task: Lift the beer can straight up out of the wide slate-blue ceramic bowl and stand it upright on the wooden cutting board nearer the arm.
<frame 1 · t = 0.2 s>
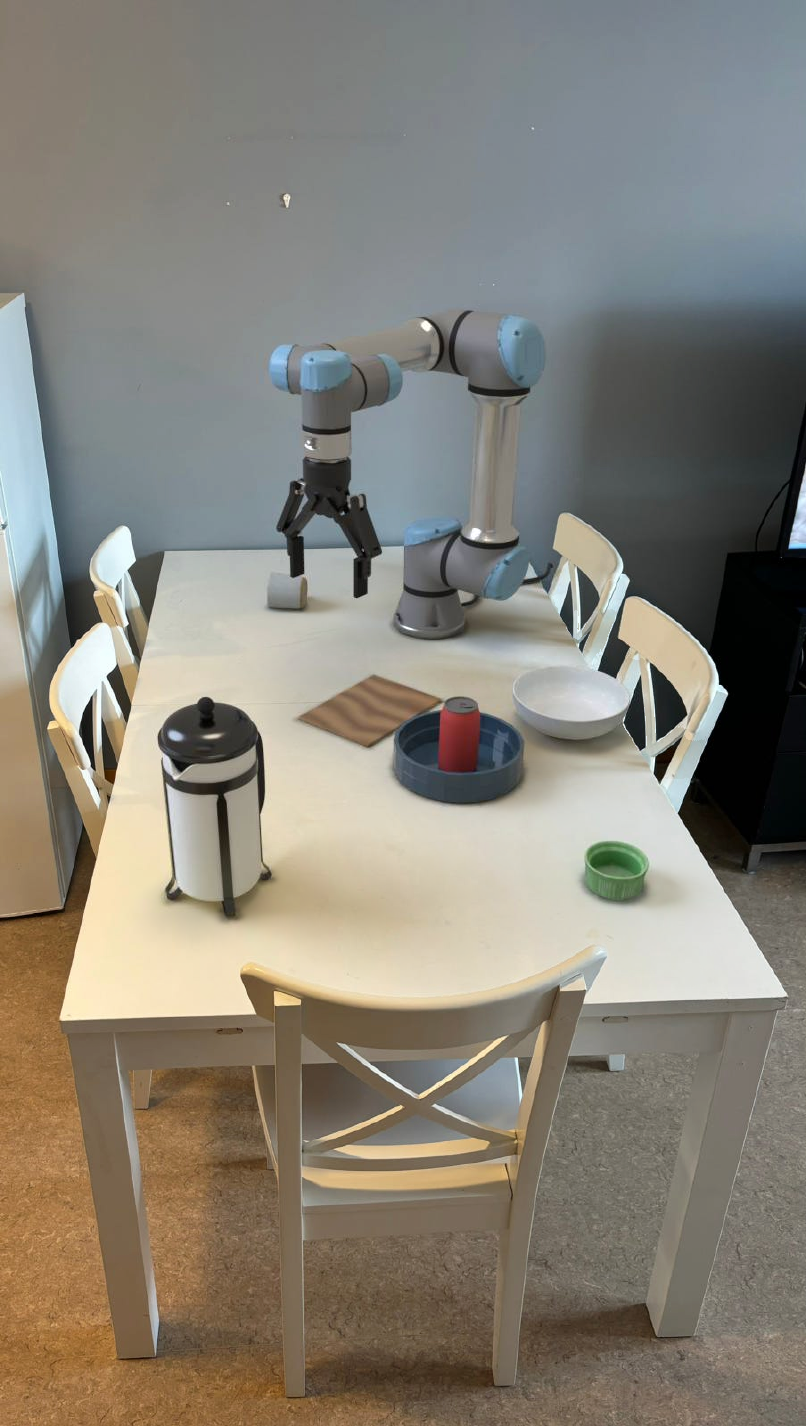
hand: (328, 585, 176), 28 cm above the table, tool pointing down, fingers open, 13 cm apart
serving bowl: (567, 725, 194), on the table
blue bowl: (457, 768, 180), on the table
coffee press: (222, 882, 152), on the table
beer can: (457, 768, 180), resting on blue bowl
ceramic mug: (287, 605, 240), on the table
wooden cutting board: (370, 710, 197), on the table
ramekin: (612, 884, 154), on the table
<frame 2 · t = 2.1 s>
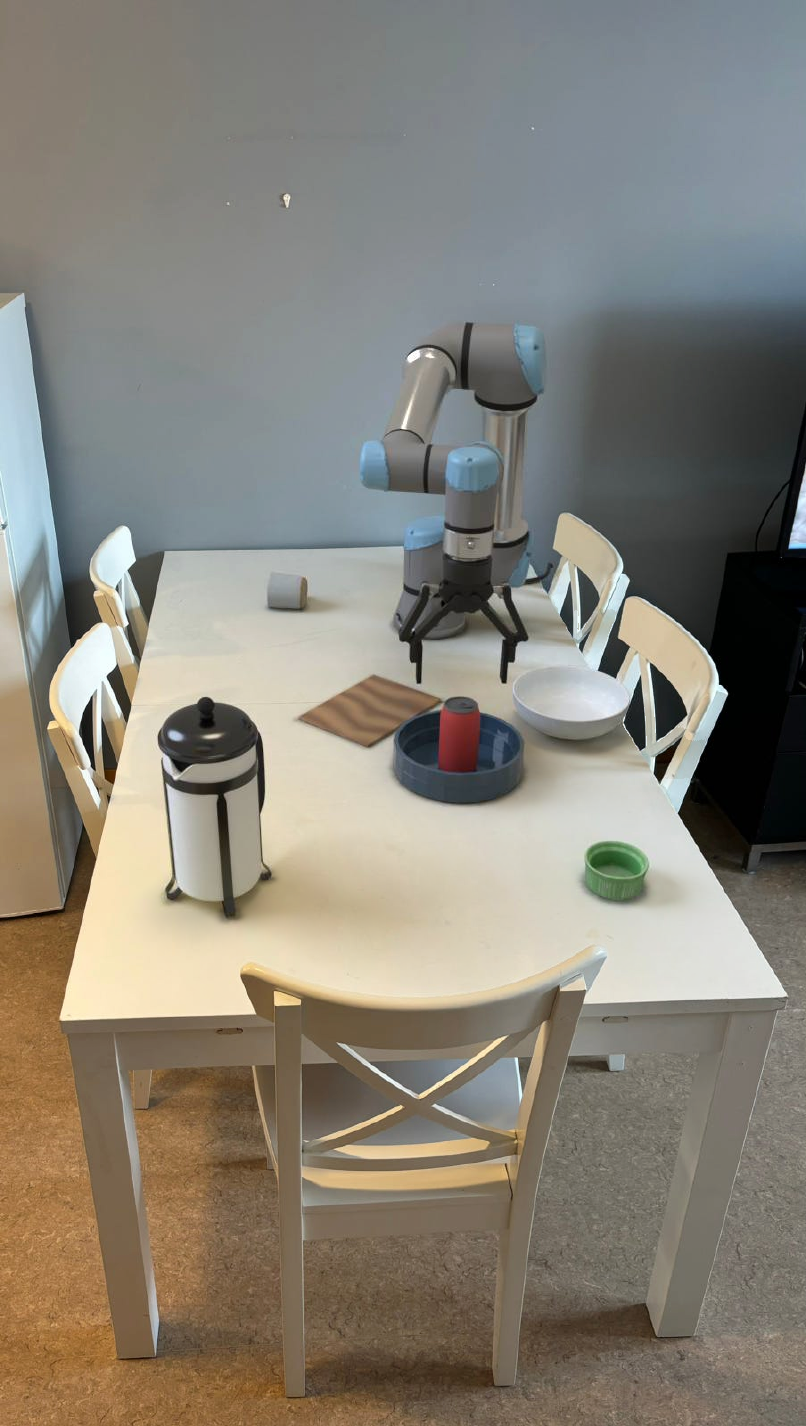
hand: (460, 680, 172), 17 cm above the table, tool pointing down, fingers open, 13 cm apart
nothing on the table moved.
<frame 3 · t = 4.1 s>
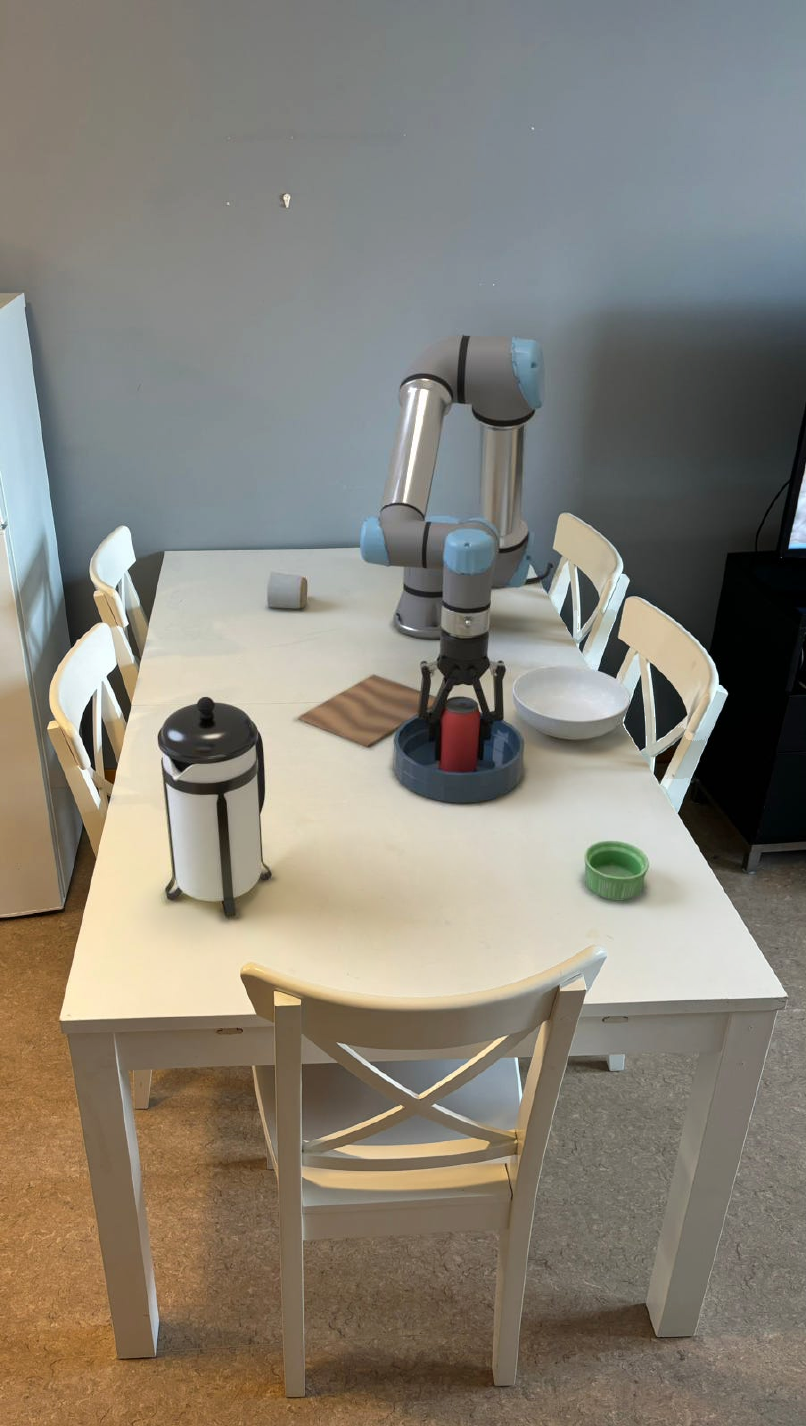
hand: (458, 756, 179), 2 cm above the table, tool pointing down, fingers closed on beer can, 7 cm apart
beer can: (457, 768, 180), resting on blue bowl, touching gripper
everything else where it was.
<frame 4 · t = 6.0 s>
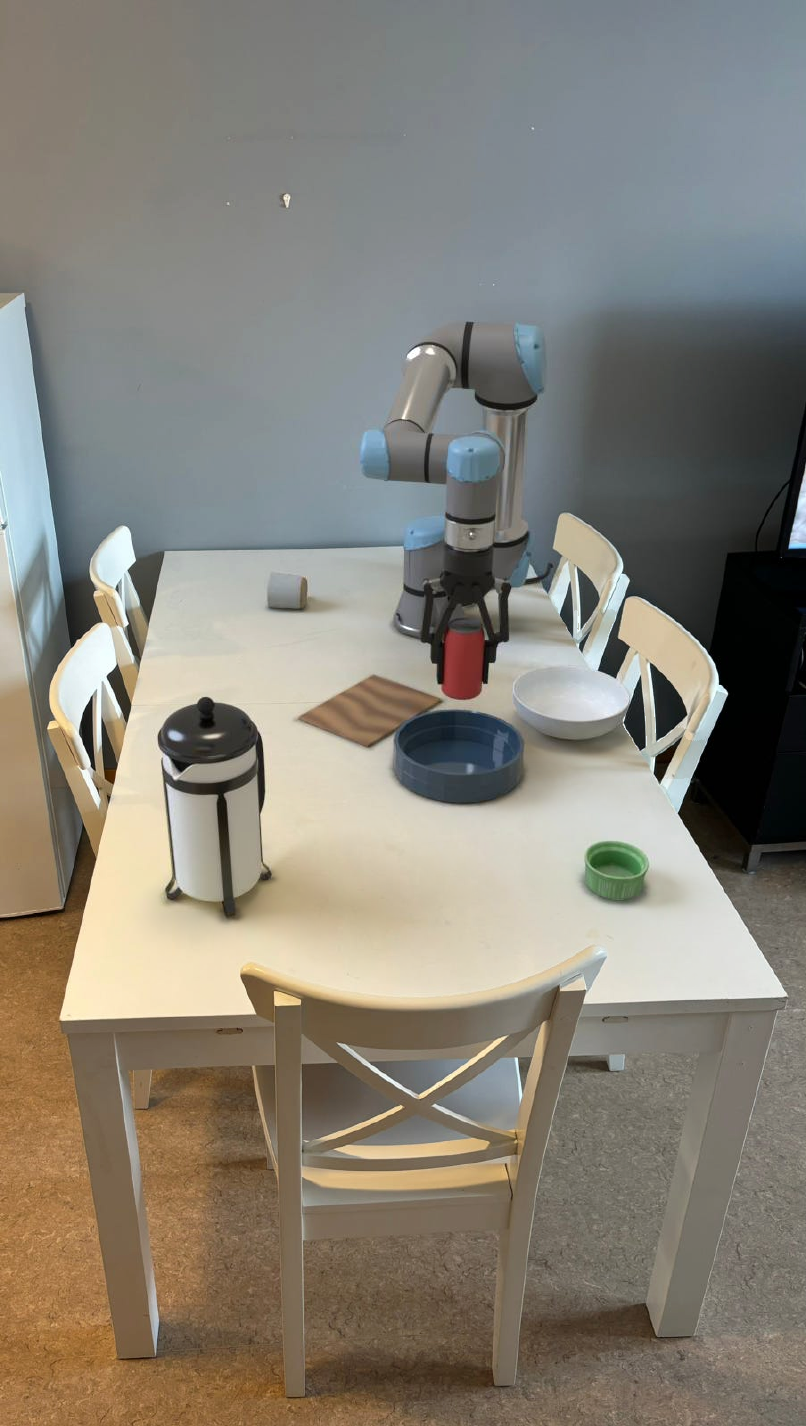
hand: (461, 680, 173), 16 cm above the table, tool pointing down, fingers closed on beer can, 6 cm apart
beer can: (461, 693, 174), point 14 cm above the table, touching gripper
everything else where it was.
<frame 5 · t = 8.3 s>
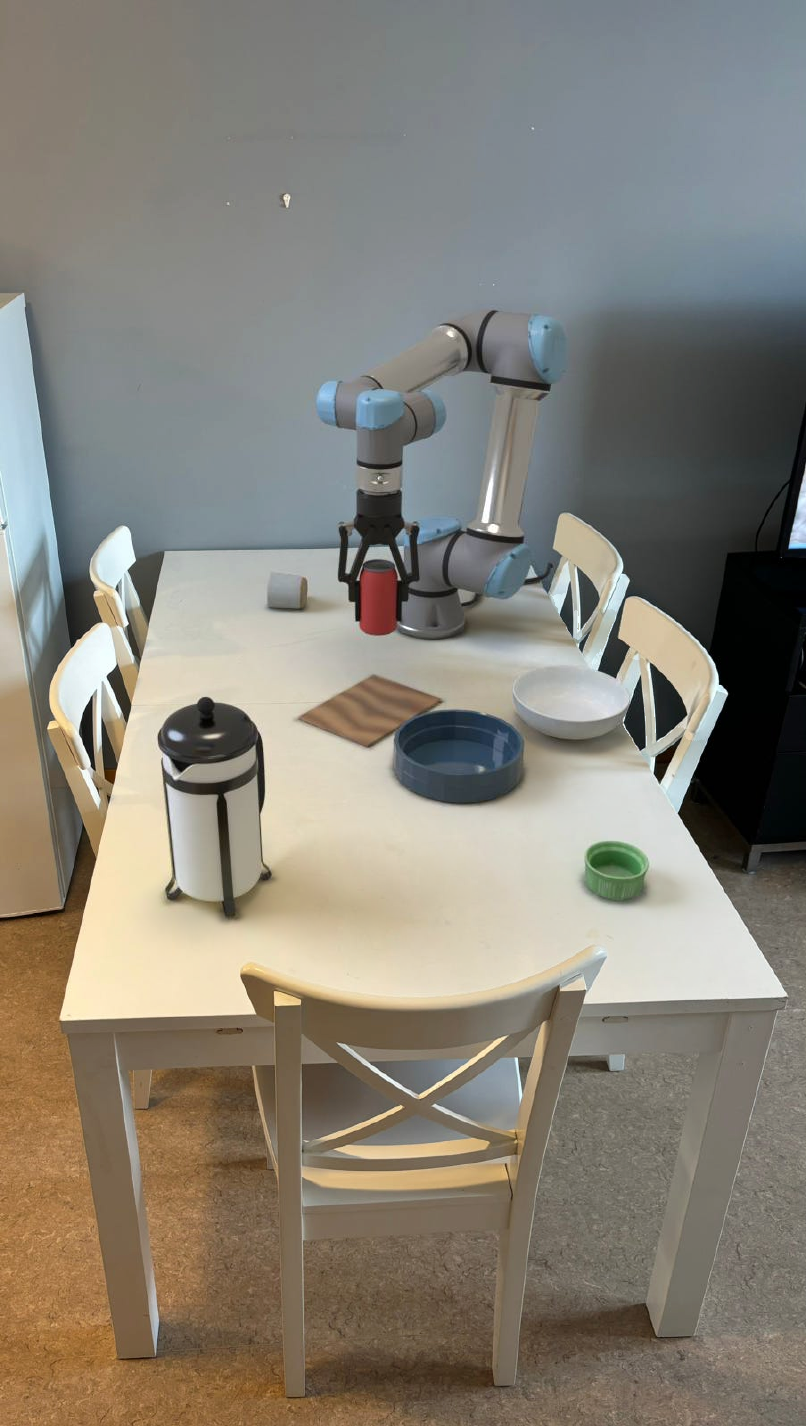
hand: (378, 618, 187), 19 cm above the table, tool pointing down, fingers closed on beer can, 6 cm apart
beer can: (378, 630, 188), point 17 cm above the table, touching gripper
everything else where it was.
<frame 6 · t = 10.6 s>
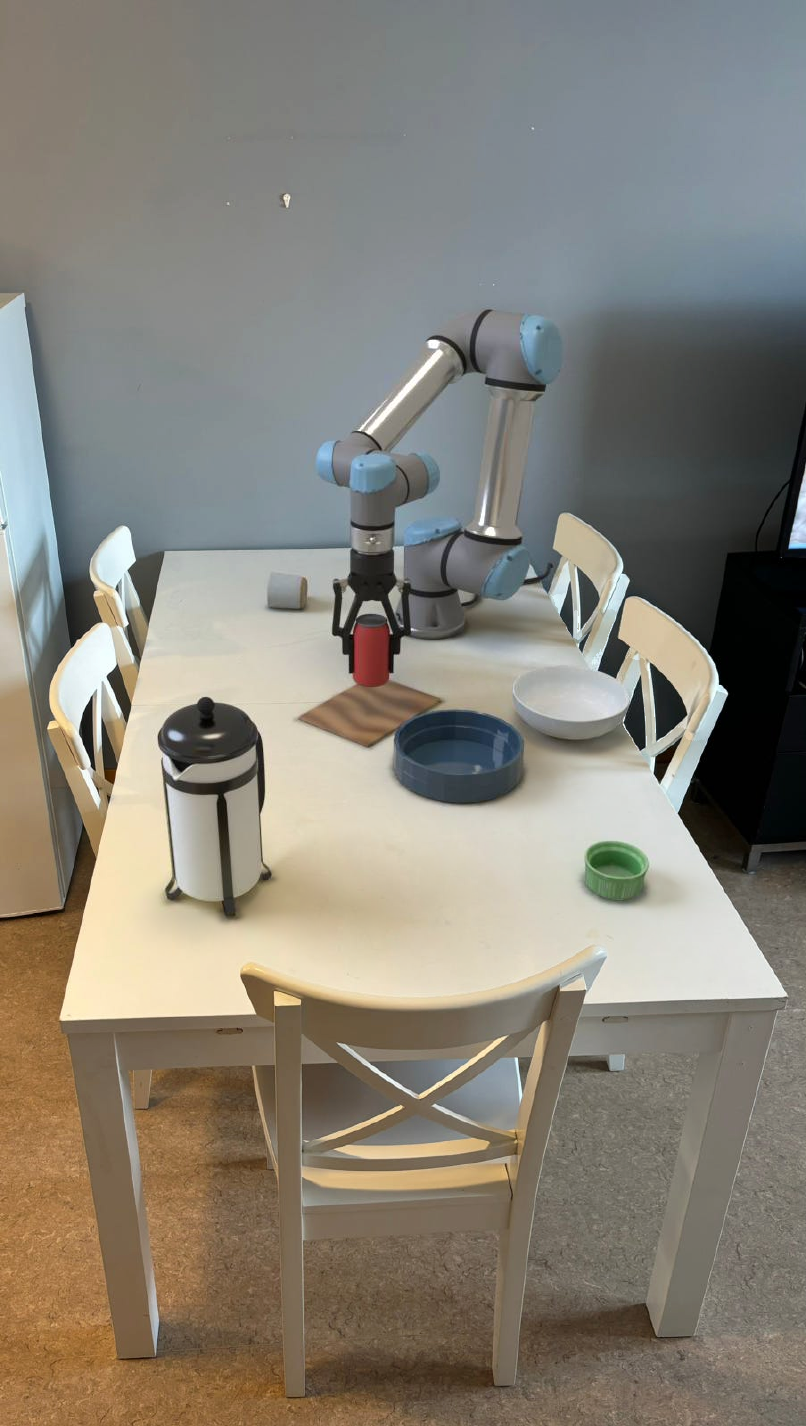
hand: (371, 669, 193), 8 cm above the table, tool pointing down, fingers closed on beer can, 6 cm apart
beer can: (370, 681, 195), point 6 cm above the table, touching gripper
everything else where it was.
when the fingers open (3 cm above the table, at t = 12.4 s): beer can stays where it is, resting on wooden cutting board.
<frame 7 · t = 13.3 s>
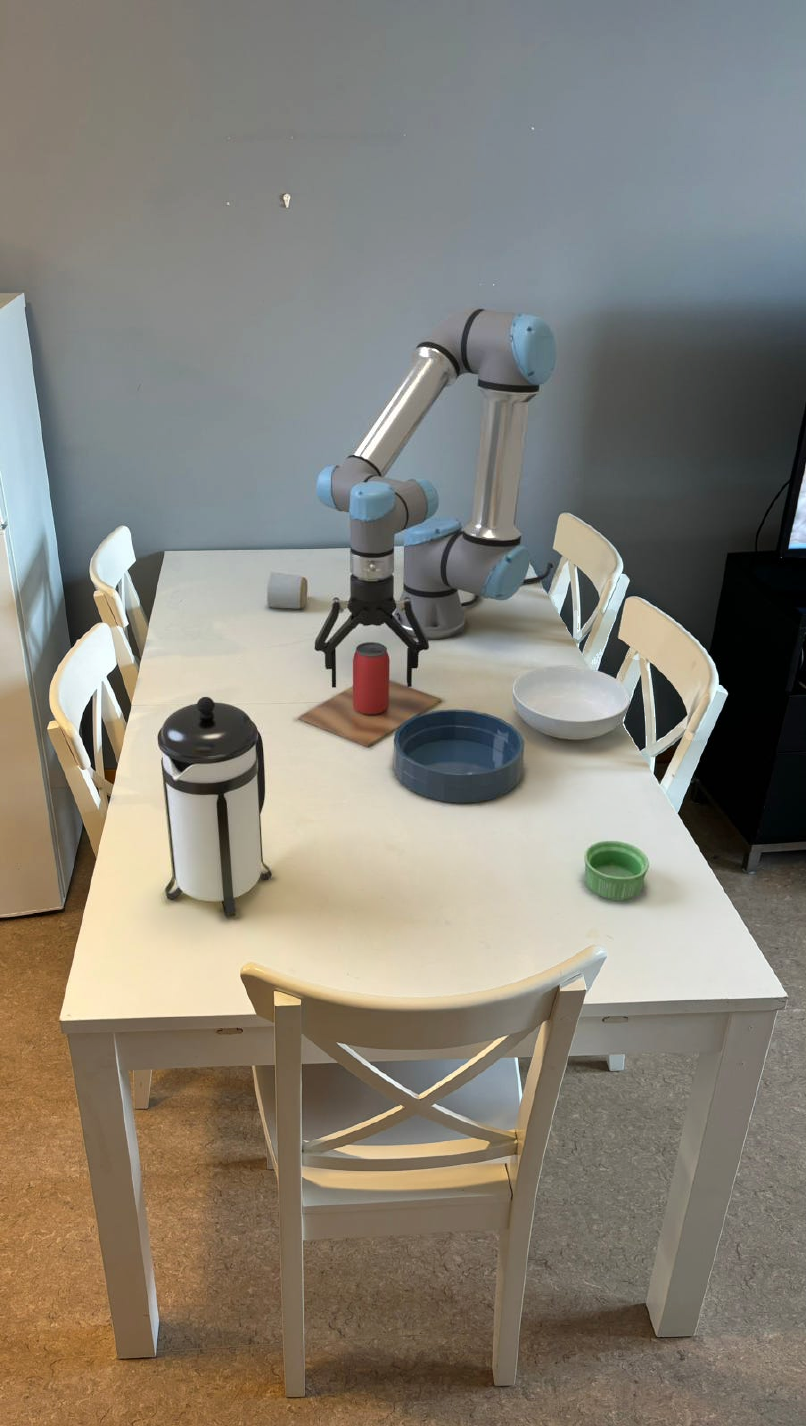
hand: (371, 684, 195), 5 cm above the table, tool pointing down, fingers open, 13 cm apart
beer can: (370, 708, 197), resting on wooden cutting board
everything else where it was.
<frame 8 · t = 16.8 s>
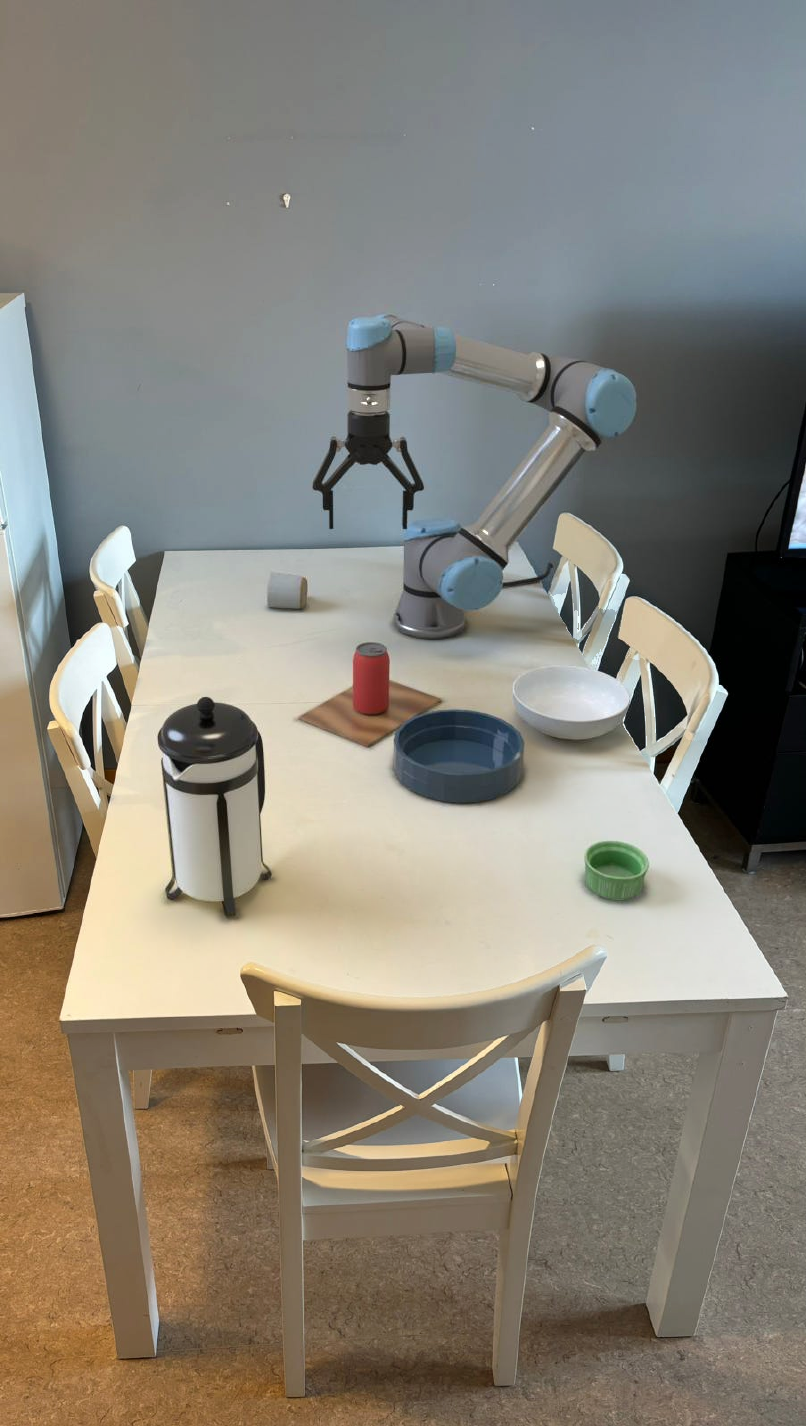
hand: (368, 527, 200), 29 cm above the table, tool pointing down, fingers open, 13 cm apart
nothing on the table moved.
at the end: beer can inside the target area on the wooden cutting board (0.1 cm from its centre), point 0.3 cm above the wooden cutting board's base; beer can tilted 0°; the gripper is holding nothing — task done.
